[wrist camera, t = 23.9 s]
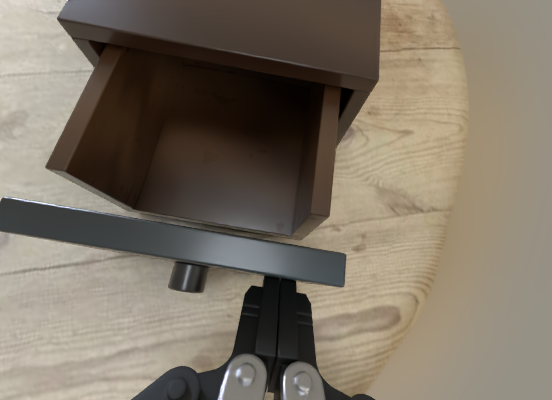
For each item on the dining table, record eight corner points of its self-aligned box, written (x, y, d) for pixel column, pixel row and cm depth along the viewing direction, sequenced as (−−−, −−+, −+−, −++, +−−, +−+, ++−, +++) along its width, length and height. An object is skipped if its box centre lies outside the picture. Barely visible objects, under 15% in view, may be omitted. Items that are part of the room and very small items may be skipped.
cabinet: (324, 167, 18) (379, 80, 10) (146, 135, 18) (55, 18, 10) (339, 21, 23) (384, -117, 15) (198, -6, 23) (167, -163, 15)
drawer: (304, 304, 15) (342, 325, 8) (96, 270, 14) (-37, 265, 8) (327, 94, 19) (362, 3, 13) (172, 65, 19) (130, -43, 13)
